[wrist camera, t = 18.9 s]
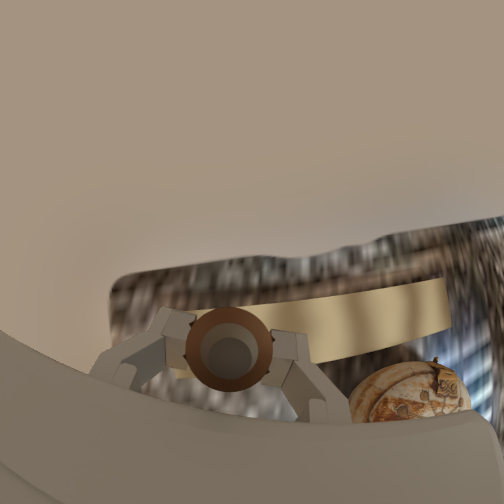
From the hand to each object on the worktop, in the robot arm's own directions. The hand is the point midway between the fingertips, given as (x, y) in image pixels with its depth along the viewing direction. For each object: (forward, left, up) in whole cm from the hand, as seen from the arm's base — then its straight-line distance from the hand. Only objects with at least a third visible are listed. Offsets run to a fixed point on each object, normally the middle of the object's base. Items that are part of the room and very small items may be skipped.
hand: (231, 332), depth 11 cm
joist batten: (-10, +1, -16) cm, 18 cm away
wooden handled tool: (0, +1, -6) cm, 6 cm away
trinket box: (-18, +12, -16) cm, 27 cm away
